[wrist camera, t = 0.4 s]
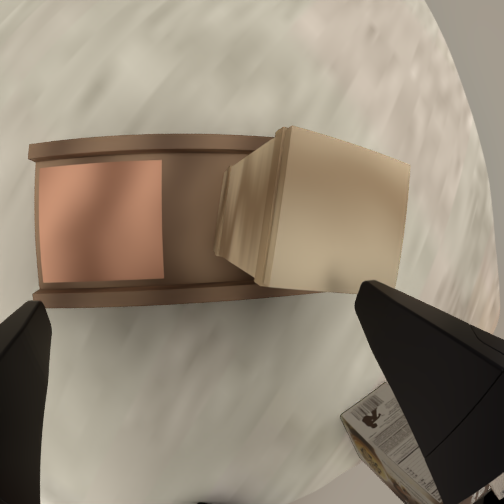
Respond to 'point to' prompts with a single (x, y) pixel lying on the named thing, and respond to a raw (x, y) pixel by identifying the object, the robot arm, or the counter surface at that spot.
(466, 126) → the counter surface
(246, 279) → the bay
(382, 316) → the robot arm
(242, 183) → the stack of paper
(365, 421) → the coffee box
